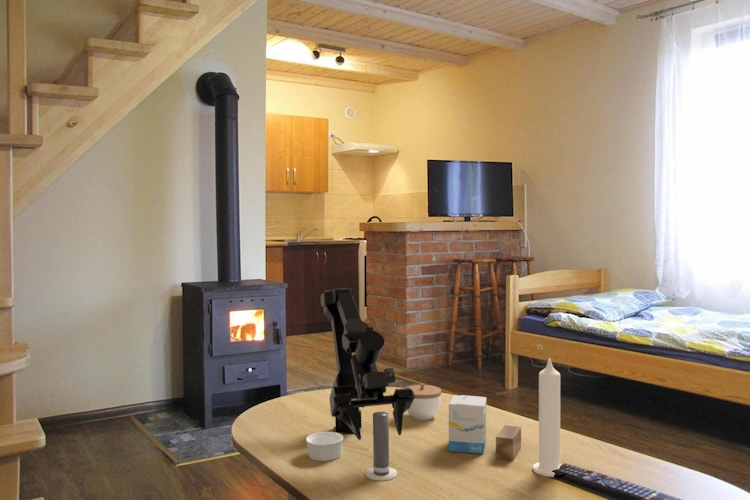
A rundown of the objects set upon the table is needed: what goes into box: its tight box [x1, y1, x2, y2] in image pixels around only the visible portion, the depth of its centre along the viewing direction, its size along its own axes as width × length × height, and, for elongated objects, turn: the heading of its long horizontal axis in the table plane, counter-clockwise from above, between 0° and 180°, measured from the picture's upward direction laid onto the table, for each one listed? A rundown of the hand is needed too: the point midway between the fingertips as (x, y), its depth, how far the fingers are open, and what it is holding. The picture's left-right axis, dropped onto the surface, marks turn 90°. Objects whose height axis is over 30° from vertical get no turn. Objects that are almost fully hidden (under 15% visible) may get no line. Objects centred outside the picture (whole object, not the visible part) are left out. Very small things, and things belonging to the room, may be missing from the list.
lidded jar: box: [405, 383, 442, 421], centre depth 178 cm, size 11×11×9 cm
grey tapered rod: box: [372, 411, 390, 476], centre depth 137 cm, size 4×4×13 cm
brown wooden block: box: [495, 425, 522, 461], centre depth 149 cm, size 4×9×5 cm, turn 156°
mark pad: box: [364, 466, 398, 482], centre depth 138 cm, size 7×7×1 cm
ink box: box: [448, 394, 487, 455], centre depth 154 cm, size 8×8×12 cm
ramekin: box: [305, 431, 344, 462], centre depth 149 cm, size 9×9×4 cm
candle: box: [532, 357, 562, 478], centre depth 138 cm, size 7×7×25 cm
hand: (380, 436), depth 138 cm, fingers open, 9 cm apart
